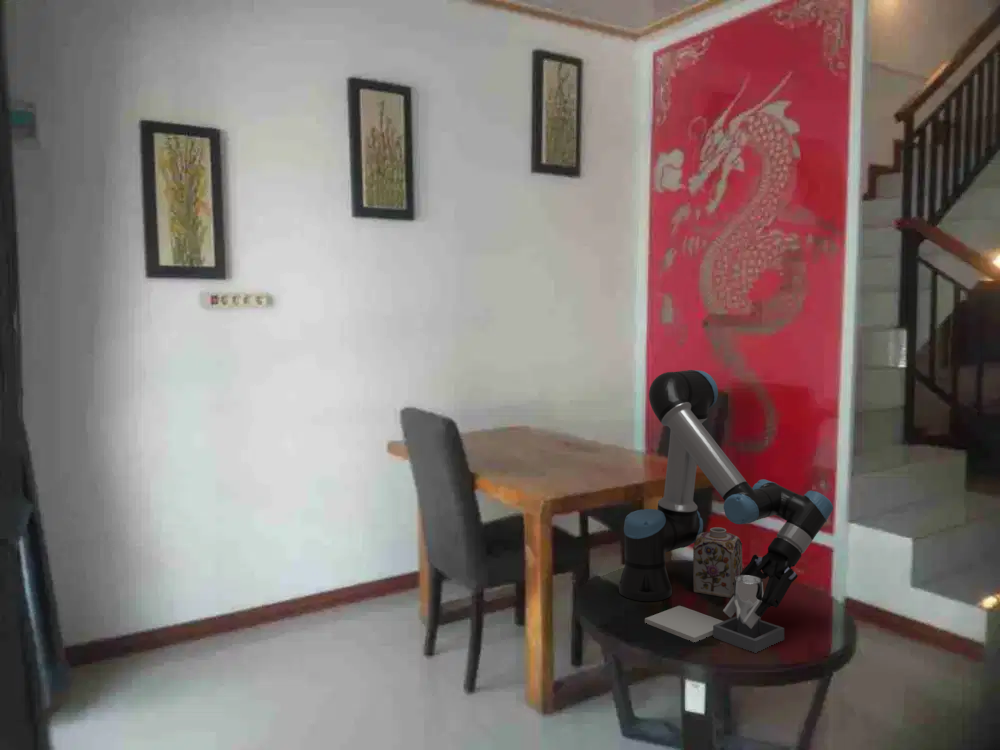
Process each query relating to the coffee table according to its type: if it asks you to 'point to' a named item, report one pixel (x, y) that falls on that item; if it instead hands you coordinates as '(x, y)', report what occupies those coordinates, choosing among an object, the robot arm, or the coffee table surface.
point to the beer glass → (747, 602)
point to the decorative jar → (716, 562)
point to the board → (684, 623)
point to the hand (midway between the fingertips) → (736, 619)
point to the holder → (728, 634)
